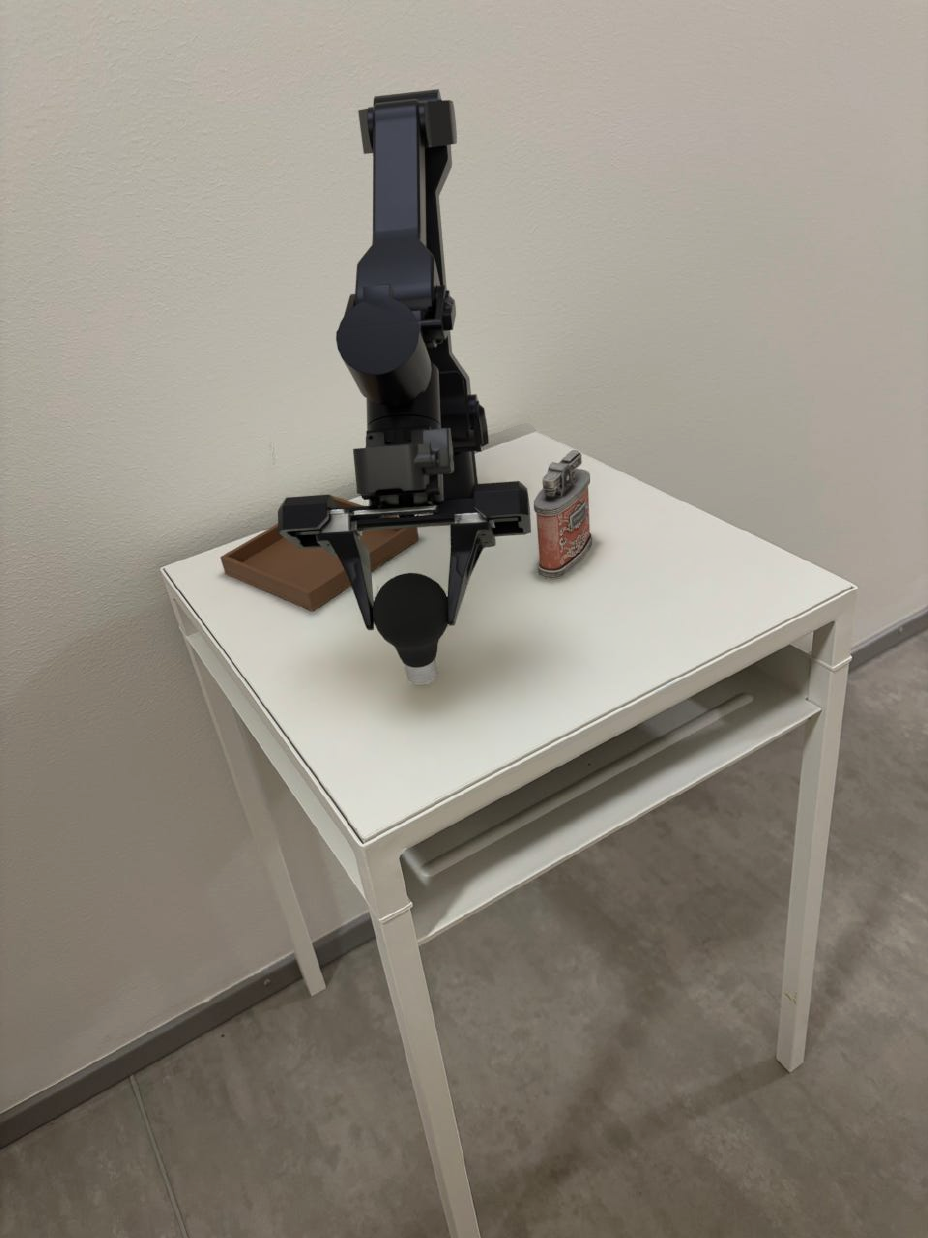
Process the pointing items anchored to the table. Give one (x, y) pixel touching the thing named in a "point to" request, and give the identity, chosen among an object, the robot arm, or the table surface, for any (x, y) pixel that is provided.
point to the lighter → (563, 517)
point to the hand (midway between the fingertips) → (410, 627)
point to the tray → (307, 563)
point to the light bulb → (412, 622)
